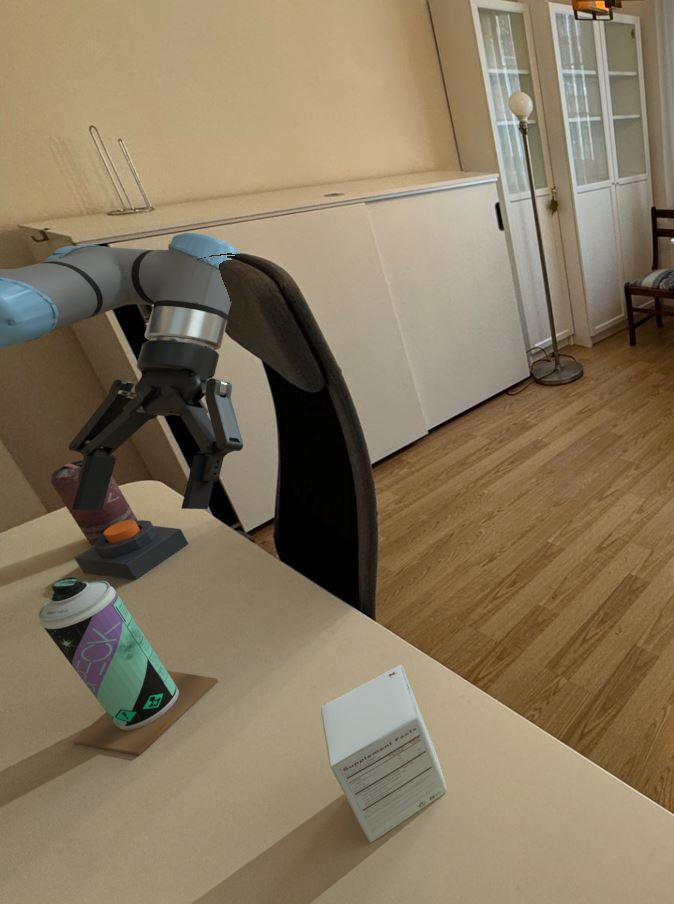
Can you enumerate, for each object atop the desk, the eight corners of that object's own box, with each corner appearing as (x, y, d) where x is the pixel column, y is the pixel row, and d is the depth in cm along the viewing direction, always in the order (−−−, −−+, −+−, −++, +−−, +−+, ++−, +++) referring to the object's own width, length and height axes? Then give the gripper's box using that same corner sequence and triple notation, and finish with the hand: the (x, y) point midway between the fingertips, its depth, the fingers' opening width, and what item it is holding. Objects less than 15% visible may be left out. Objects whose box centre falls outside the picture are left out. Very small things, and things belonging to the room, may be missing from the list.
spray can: (115, 708, 66) (24, 584, 58) (176, 677, 70) (99, 555, 61) (117, 740, 63) (21, 613, 54) (181, 705, 66) (100, 581, 58)
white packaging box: (356, 782, 59) (318, 704, 53) (431, 737, 63) (403, 660, 58) (368, 847, 53) (327, 768, 48) (449, 793, 57) (419, 714, 52)
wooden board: (74, 743, 63) (72, 740, 63) (159, 671, 71) (157, 668, 71) (139, 755, 62) (137, 752, 61) (218, 680, 70) (216, 678, 69)
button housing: (83, 573, 87) (67, 548, 85) (139, 538, 94) (126, 514, 92) (135, 580, 85) (120, 555, 83) (188, 543, 93) (176, 520, 90)
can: (119, 521, 98) (80, 455, 92) (150, 524, 97) (112, 457, 91) (79, 546, 93) (34, 477, 87) (111, 549, 92) (68, 479, 86)
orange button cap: (102, 542, 86) (96, 534, 86) (128, 527, 90) (123, 518, 89) (121, 545, 86) (115, 536, 85) (146, 529, 89) (141, 520, 88)
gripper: (295, 352, 78) (264, 508, 72) (121, 355, 78) (77, 510, 72) (251, 336, 70) (212, 508, 65) (59, 339, 71) (4, 510, 65)
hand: (140, 509), depth 69 cm, fingers open, 13 cm apart
